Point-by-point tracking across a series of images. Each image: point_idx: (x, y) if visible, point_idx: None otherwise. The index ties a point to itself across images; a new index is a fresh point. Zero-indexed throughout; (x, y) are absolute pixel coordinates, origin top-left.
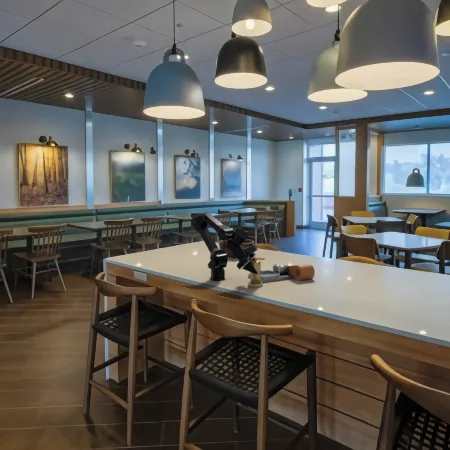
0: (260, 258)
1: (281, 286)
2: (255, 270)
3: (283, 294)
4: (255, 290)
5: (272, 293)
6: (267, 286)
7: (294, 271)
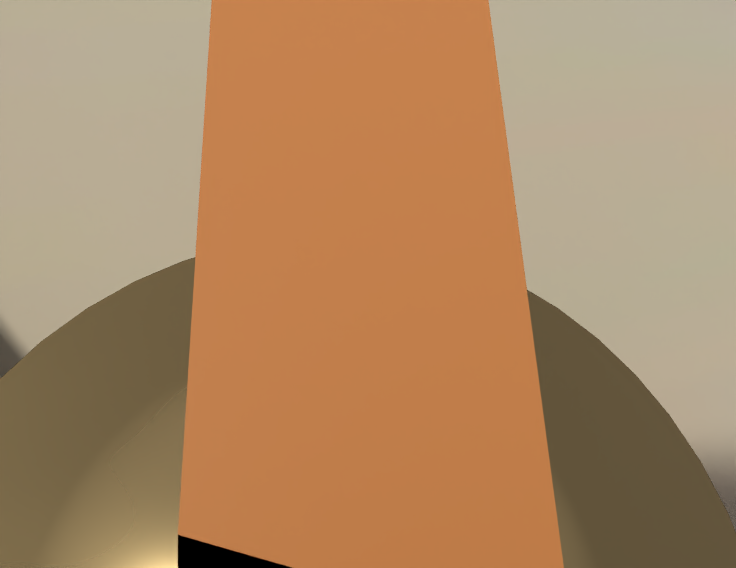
0: (494, 59)
1: None
2: None
3: (668, 44)
4: None
5: (692, 179)
6: None
7: None
